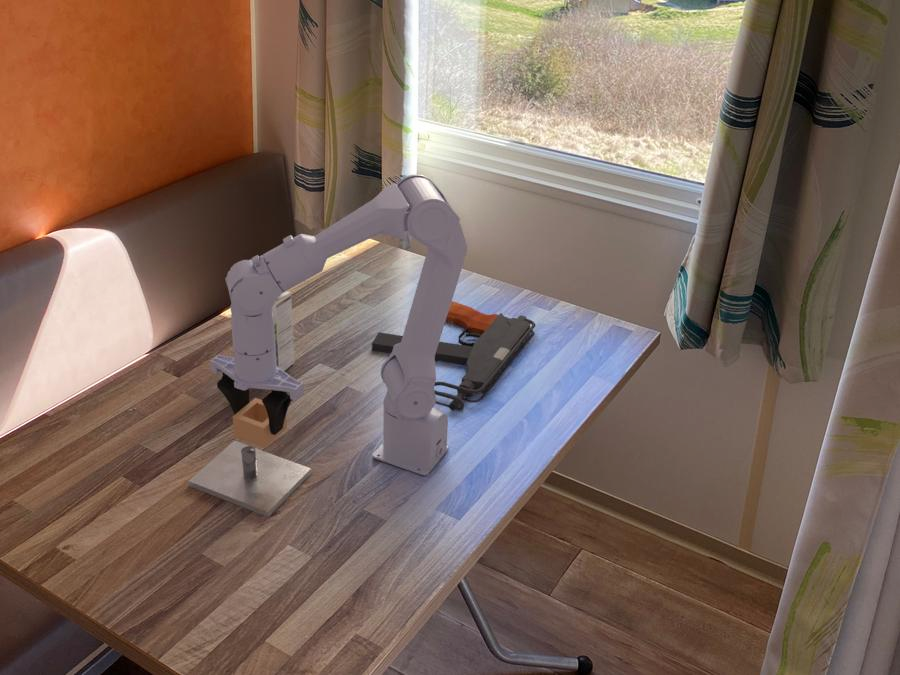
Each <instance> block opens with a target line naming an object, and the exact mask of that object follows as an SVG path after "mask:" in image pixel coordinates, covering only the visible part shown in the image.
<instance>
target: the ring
mask: <svg viewBox="0 0 900 675" xmlns="http://www.w3.org/2000/svg"><path fill="white" fill-rule="evenodd" d="M287 426H288V424H287V415H286V416H285V420H284V425H283V429H282V430H280V431H279V432H278V433H277V434H276V435H273V434H271V432H270V428H269V418H268V414H267V410H266V408H265V406H264V404H263V402H262V399H259V398H257V397H254V398H253V399H252V400H251V401H249V403H248V404H247V405H246V406H245V407H244V408H242V409H241V410H240V411H239V412H237V413H236V414H235V415H234V414H233V416H232V427H233V428H232V429H233V436H234V438H237V439H238V440H242V441H245V442H246V443H250V444H252V445H254V446H258V447H260V448H262V449H266V448H267V447H268V446H269V445H271V444H272V443H273V442H274V441H275V440H276V439H277V438H278V437H280V436H281V435H282V434H283V433H285V431H286V430H287V429H288V427H287Z"/></svg>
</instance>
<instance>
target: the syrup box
mask: <svg viewBox="0 0 900 675" xmlns="http://www.w3.org/2000/svg"><path fill="white" fill-rule="evenodd" d="M292 303H293V302H292V292H291V291H286V292H284V293H282V294H281V295H280V296H279V297H277V299H276V301H275V303H274V305H273V307H272V312H273V315H274V330H275V347H276V365H277V367H279V368H280V369H282V370H283V371H284V372H285V371H286V370H287V369H289V368H290V367H291V366H292V365H294V364H295V351H294V348H295V347H294V345H295V344H294V324H293V307H292V306H293V305H292Z"/></svg>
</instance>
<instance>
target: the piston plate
mask: <svg viewBox="0 0 900 675" xmlns="http://www.w3.org/2000/svg"><path fill="white" fill-rule="evenodd" d="M310 475H312V468H311V467H309V466H307V465H306V466H305V465H303V464H299V463H297V462H294V461H292V460H289V459H286V458H283V457H280V456H278V455H274V454H272V453H270V452H267V451H265V450H261V449H258V448H256V447H254V446H252V445H248V444H246V443H243V442H239V441H237V440H233V441H232V442H231V443H230V444H229V445H227V447H226V448H224V449H223V450H221V451H220V453H218V454H217V455H216V456H215V457H214V458H212V460H210V461H209V462H208V463H207V464H206V465H204V466H203V467H202V468H201V469H200V470H199V471H198V472H197V473H196V474H195V475H193V476H192V477H191V478H189V480H188V487H190V488H193V489H195V490H198V491H201V492H203V493H205V494H208V495H211V496H213V497H215V498H218V499H221V500H223V501H226V502H228V503H231V504H234V505H236V506H238V507H241V508H243V509H246V510H249V511H251V512H254V513H256V514H259V515H261V516H264V517H267V518H269V517H270V516H271V515H272V514H273V513H274V512H275V511H276V510H277V509H278V508H280V506H281V505H283V503H284V502H285V501H286V500H287V499H288V498H289V497H290V496H291V495H292V494H293V493H295V491H296V490H297V489H298V488H299V487H300V486H301V485H302V484H303V483H304V482H305V481H306V480H307V479H308V478H309V477H310Z"/></svg>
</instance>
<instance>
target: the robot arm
mask: <svg viewBox="0 0 900 675" xmlns="http://www.w3.org/2000/svg"><path fill="white" fill-rule="evenodd" d="M460 221H461V218H460V217H459V215H458V214H457V213H456V212H455V210H454V209H453V208H452V206H451V205H450V204H449V202H448V200H447V199H446V197H445V195H444V194H443V192H442V191H441V190H440V188H438V186H437V185H436V184H435V183H434V181H433V180H431V178H430V177H427V176H426V175H423V174H416V173H415V174H408V175H407V176H404V177H403V178H401V179H400V180H399V181H398V182H397V183H396V182H393V183H392V184H389V185H386V186H385V187H384V188H383V189H382V190H381V191H380V192H379V193H378V194H377V195H376V196H375V197H373V199H371V200H370V201H368V202H366V203H364V204H363V205H362V206H359V207H358V208H357V209H355V210H354V211H352V212H351V213H349V214H347V215H346V216H344V217H342V218H341V219H340V220H338V221H336V222H335V223H333V224H332V225H330V226H328V227H326V228H325V229H324V230H322V231H320V232H319V233H317V234H316V235H309V234H304V233H299V234H298V235H296V236H294V237H293V235H291V234H290V235H288V236H286V237H284V238H282V242H283V243H280V244H279V245H278V246H276V247H274V248H272V249H270V250H268V251H267V252H265V253H263V254H262V255H260V256H259V255H258V254H257V255H255V256H253V257H251V259H242V260H240V261H237V262H235V263H233V265H232V266H230V270H229V271H228V272H227V274H226V277H225V279H224V280H225V284H226V287H227V289H228V294H229V298H230V302H231V304H230V312H231V316H230V325H231V339H232V348H233V356H228V355H226V356H225V355H222V354H217V355H216V356H214V357H213V358H212V359H210V360H209V362H210V371H211V373H213V374H219V373H222V376H221V378H220V379H219V380H218V381H217V383H216V386H217V387H216V388H217V389H218V390H219V391H220V392H221V393H222V394H223V395H224V397H225V399H226V400H227V401H228V404H229V406H230V408H231V410H232V412H233V416H234V415H235V414H236V413H237V412H239V411H240V410H241V409H242V408H244V407H245V406H246V405H247V404H248V403H250V389H256V390H257V389H258V390H259V389H260V390H267V391H271V392H269V393H267V395H266V396H265V397H263V398H262V399H261V400H262V402H263V404H264V406H265V408H266V410H267V414H268V418H269V428H270V432H271V434H273V435H276V434H277V433H278V432H279V431H280V430H282V429H283V425H284V420H285V416H286V417H287V412H288V409H289V407H290V405H291V402H292V401H295V402H297V401H298V400H299V399H300V398H302V397H303V395H304V394H305V392H304V391H305V390H304V389H305V386H304V382H302V381H300V380H298V379H296V378H294V377H292V375H289V373H287V372H285V371H283V370H282V369H280V368H279V367H277V365H276V347H275V330H274V315H273V312H272V307H273V305H274V303H275V301H276V299H277V297H279V296H280V295H281V294H282V293H284V292H289V291H290V290H291V289H293V288H295V287H297V286H299V285H301V284H302V283H303V282H307V280H309V279H311V278H313V277H314V276H316V275H318V274H320V273H322V272H323V271H324V269H325V268H324V267H325V264H326V262H327V260H328V259H329V258H332V257H334V256H336V255H338V254H340V253H342V252H344V251H346V250H348V249H350V248H352V247H355V246H357V245H360V244H361V243H363V242H366V241H368V240H370V239H371V238H374V237H376V236H378V235H385V236H388V237H392V238H396V239H399V240H403V241H404V240H407V238H406V233H405V232H409V234H410V236H411V237H412V239H414V240H416V241H417V242H418V243H421V244H422V245H423V246H425V247H426V248H427V250H426V255H425V258H424V262H423V265H422V268H421V272H420V274H419V279H418V282H417V286H416V289H415V293H414V296H413V300H412V303H411V306H410V310H409V314H408V316H407V321H406V324H405V327H404V331H403V333H402V336H403V337H402V341H401V343H398V344H396V345H394V347H393V351H392V353H390V355H389V356H388V358H387V359H386V360H384V362H383V364H382V366H381V368H380V376H381V379H382V382H383V383H384V384H385V387H386V389H387V391H386V394H385V396H384V399H383V417H382V418H383V423H382V424H383V430H382V431H383V437H382V438H383V442H382V443H381V444H380V445H379V447H378V448H376V450H375V451H374V452H373V453H372V458H373V459H375V460H377V461H381V462H384V463H386V464H389V465H392V466H396V467H398V468H400V469H401V468H402V469H405V470H407V471H409V472H413V473H416V474H418V475H421V476H428V475H429V474H430V472H431V471H433V469H434V467H435V466H436V465H437V464H438V462H440V460H441V459H442V458H443V457H444V455H445V454H446V453H447V451H448V450H449V449H450V448H449V445H448V428H449V427H448V425H449V421H448V420H449V419H448V415H447V414H446V413H445V412H442V411H440V410H439V409H437V408H436V407H435V404H436V403H435V401H437V395H435V392H434V390H435V387H436V386H435V382H437V373H436V360H435V354H436V350H437V347H438V344H439V342H441V341H440V340H441V337H442V335H443V330H444V328H445V325H446V318H447V315H448V311H449V308H450V305H451V302H452V300H453V298H454V295H455V291H456V288H457V285H458V282H459V279H460V275H461V274H462V273H461V272H462V268H463V266H464V264H465V263H464V262H465V260H466V256H467V253H468V243H467V241H466V237H465V234H464V232H463V227H462V225H461V223H460Z"/></svg>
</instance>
